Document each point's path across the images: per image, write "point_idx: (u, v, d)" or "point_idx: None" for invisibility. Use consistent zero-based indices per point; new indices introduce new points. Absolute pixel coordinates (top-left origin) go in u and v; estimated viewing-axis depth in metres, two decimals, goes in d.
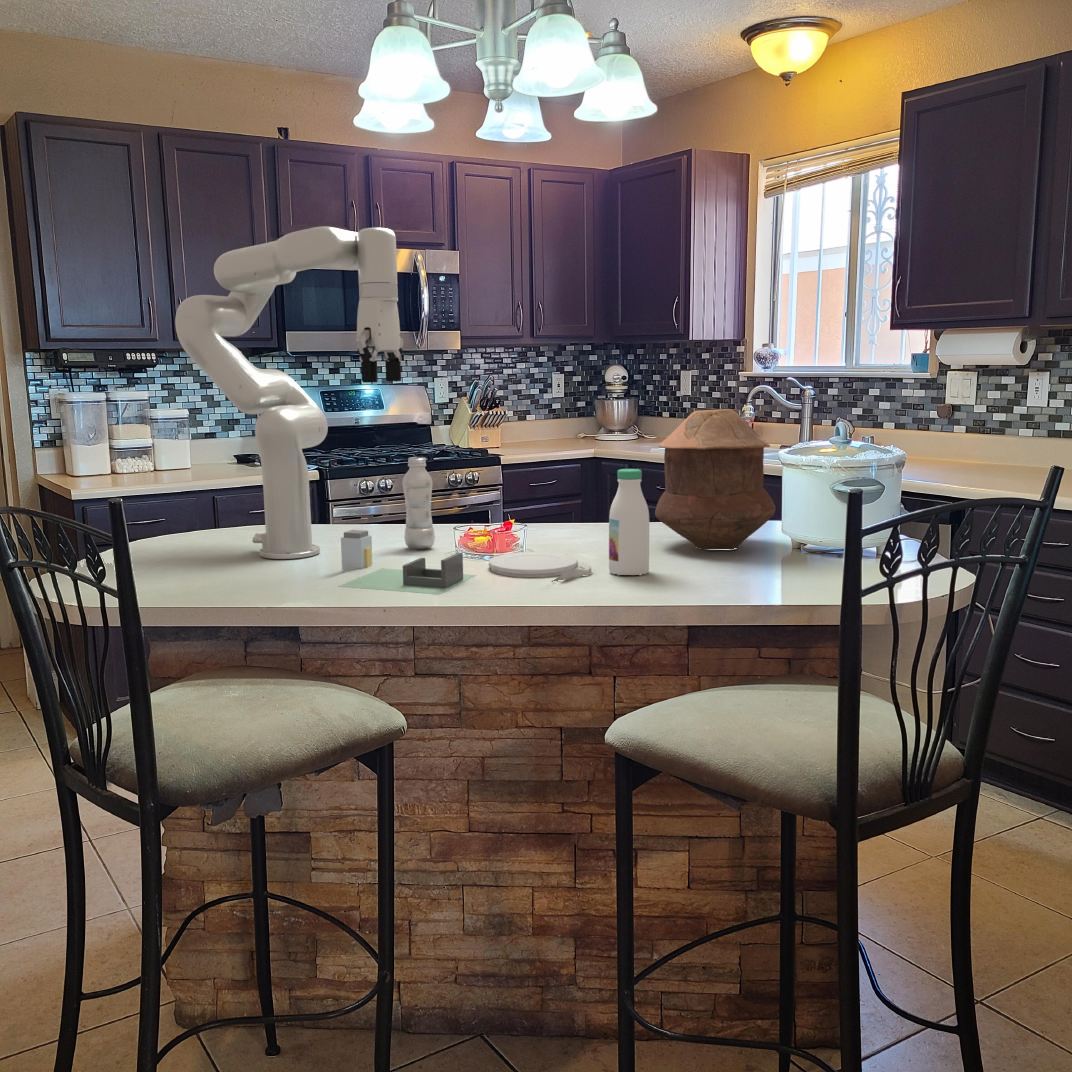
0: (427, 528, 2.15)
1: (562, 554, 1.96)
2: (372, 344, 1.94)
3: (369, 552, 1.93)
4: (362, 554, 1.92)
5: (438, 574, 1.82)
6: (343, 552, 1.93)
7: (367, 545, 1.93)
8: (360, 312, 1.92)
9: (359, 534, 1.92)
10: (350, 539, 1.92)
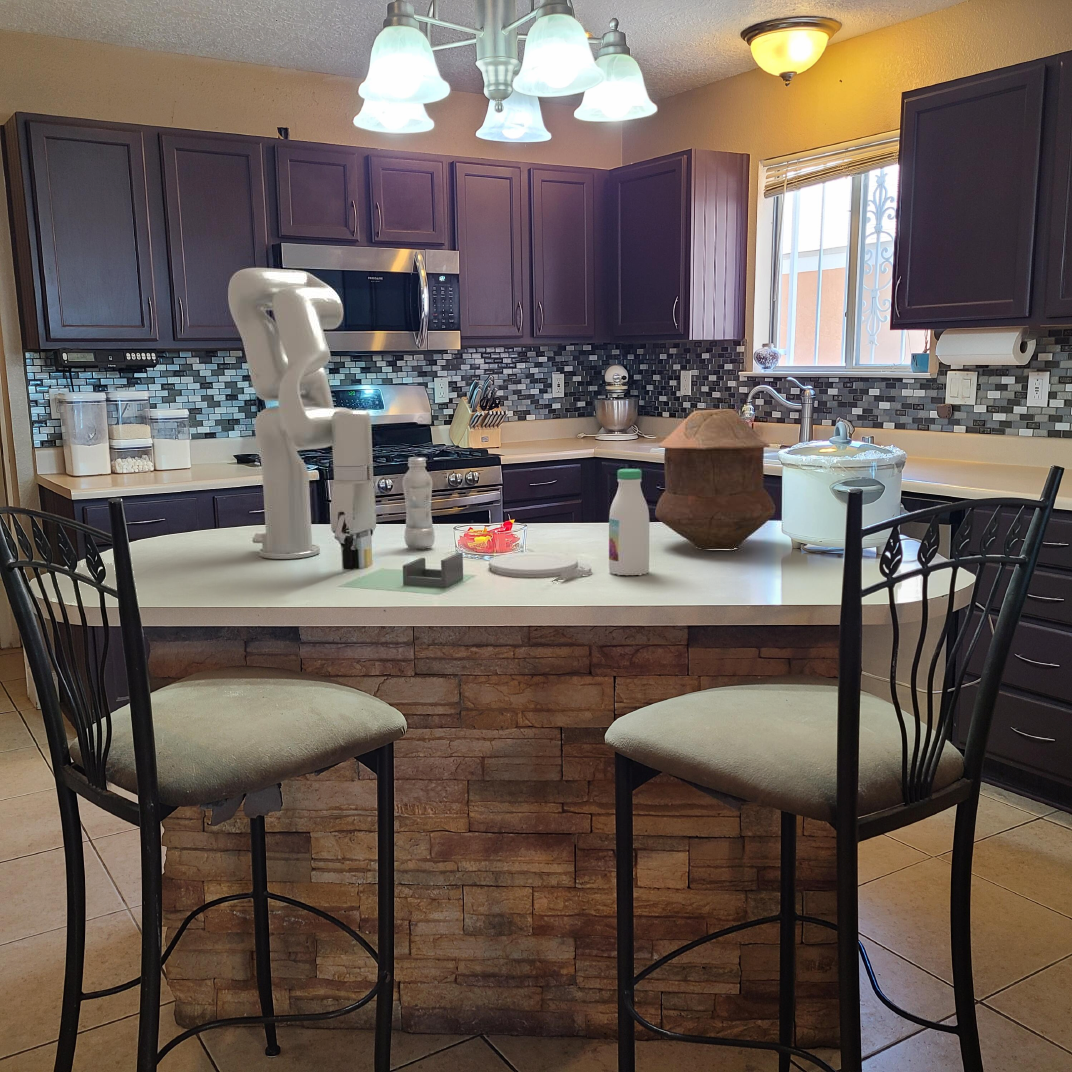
0: (427, 528, 2.15)
1: (562, 554, 1.96)
2: (346, 527, 1.90)
3: (369, 552, 1.93)
4: (362, 553, 1.92)
5: (438, 574, 1.82)
6: None
7: (367, 545, 1.93)
8: (334, 496, 1.88)
9: (359, 534, 1.92)
10: (350, 539, 1.92)
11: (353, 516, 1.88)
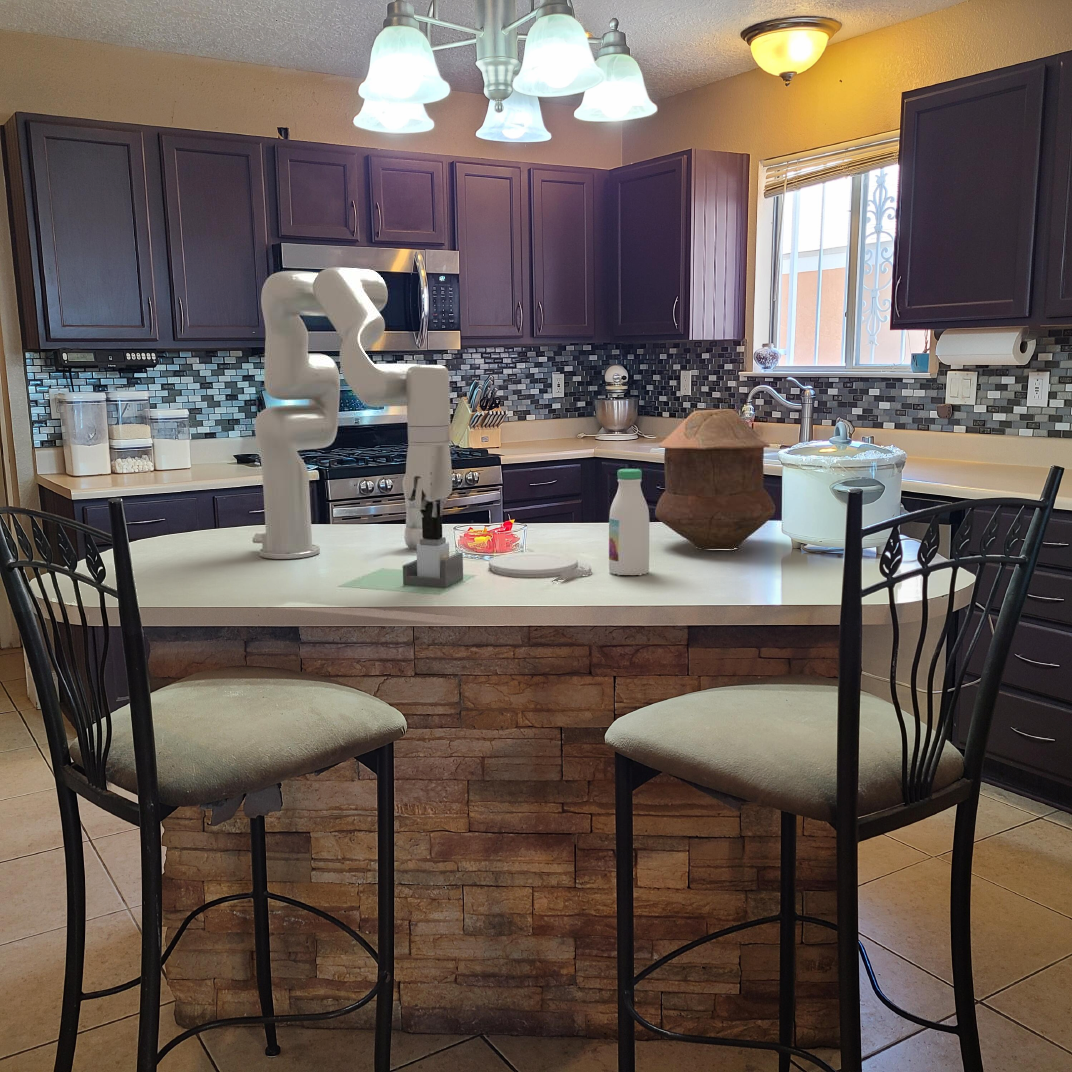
0: None
1: (562, 554, 1.96)
2: None
3: None
4: (440, 562, 1.76)
5: None
6: (419, 561, 1.77)
7: (445, 553, 1.78)
8: (409, 459, 1.71)
9: (437, 541, 1.76)
10: (427, 547, 1.76)
11: (430, 481, 1.71)
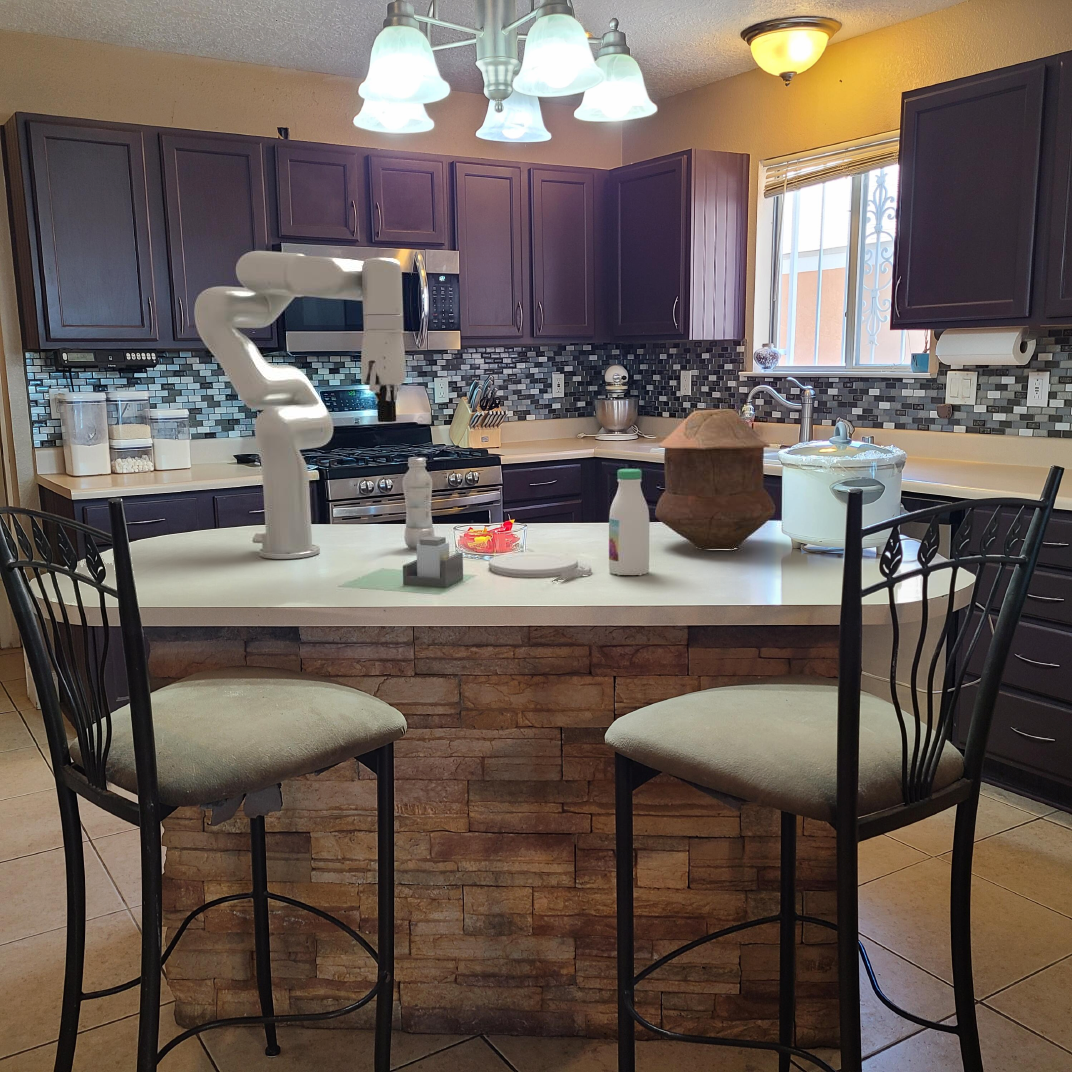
0: (427, 528, 2.15)
1: (562, 554, 1.96)
2: None
3: None
4: (440, 562, 1.76)
5: None
6: (419, 561, 1.77)
7: (445, 553, 1.78)
8: (364, 345, 1.86)
9: (437, 541, 1.76)
10: (427, 546, 1.76)
11: (384, 365, 1.86)
